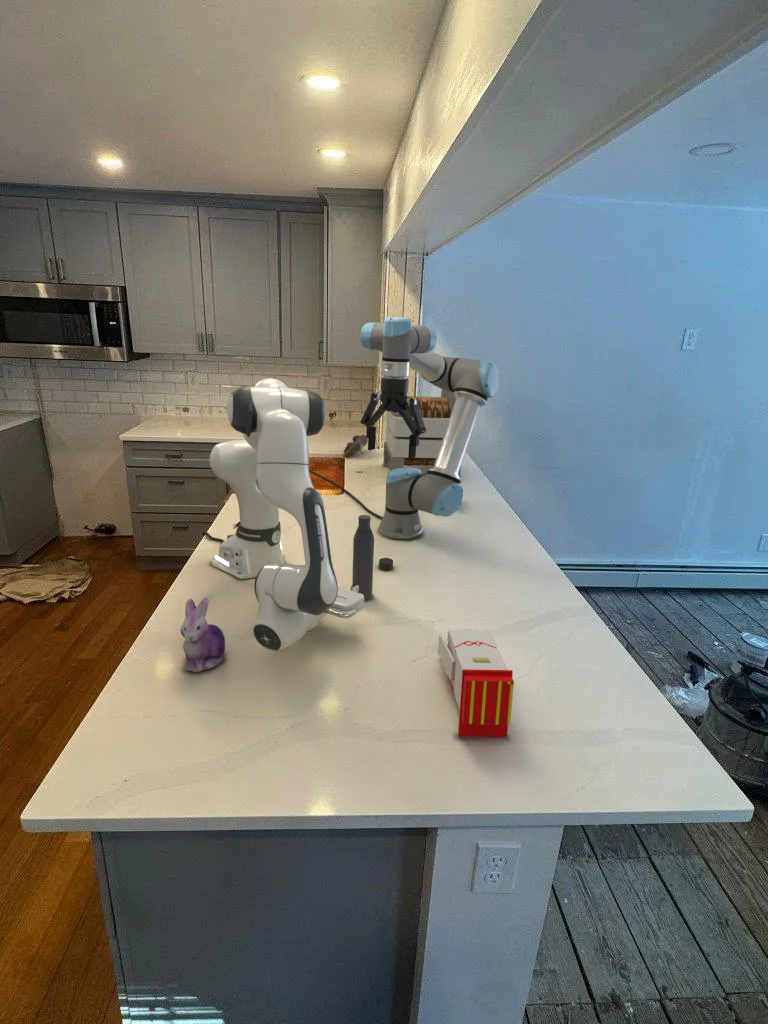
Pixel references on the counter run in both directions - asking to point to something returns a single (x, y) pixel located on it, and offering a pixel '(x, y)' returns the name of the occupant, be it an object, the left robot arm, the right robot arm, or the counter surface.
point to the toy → (478, 682)
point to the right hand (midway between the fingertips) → (391, 453)
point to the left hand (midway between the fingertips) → (340, 582)
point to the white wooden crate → (435, 423)
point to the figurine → (201, 638)
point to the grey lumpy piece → (355, 445)
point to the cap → (385, 564)
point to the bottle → (363, 557)
